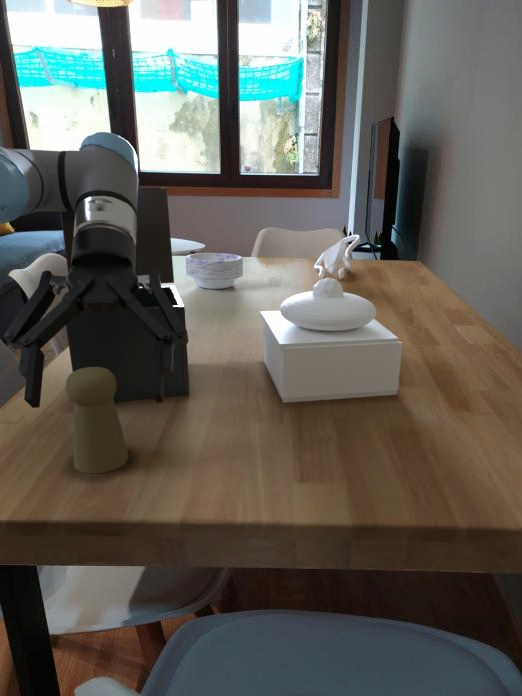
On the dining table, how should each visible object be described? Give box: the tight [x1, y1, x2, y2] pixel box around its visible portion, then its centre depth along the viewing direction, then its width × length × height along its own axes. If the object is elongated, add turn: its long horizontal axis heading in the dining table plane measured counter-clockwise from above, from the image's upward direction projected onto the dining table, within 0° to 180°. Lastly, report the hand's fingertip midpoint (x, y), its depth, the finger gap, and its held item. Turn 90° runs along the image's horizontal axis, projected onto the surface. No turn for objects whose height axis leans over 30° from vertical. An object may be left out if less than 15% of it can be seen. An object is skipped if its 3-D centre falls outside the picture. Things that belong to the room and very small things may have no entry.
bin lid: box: [60, 187, 175, 284], centre depth 83 cm, size 14×16×1 cm
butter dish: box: [259, 277, 403, 404], centre depth 84 cm, size 18×18×16 cm
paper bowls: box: [185, 252, 244, 290], centre depth 146 cm, size 15×15×8 cm
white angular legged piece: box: [314, 234, 361, 280], centre depth 163 cm, size 17×9×22 cm
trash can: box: [65, 285, 190, 403], centre depth 81 cm, size 14×16×13 cm
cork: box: [65, 367, 129, 475], centre depth 60 cm, size 6×6×11 cm
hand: (96, 401), depth 60 cm, fingers open, 13 cm apart
